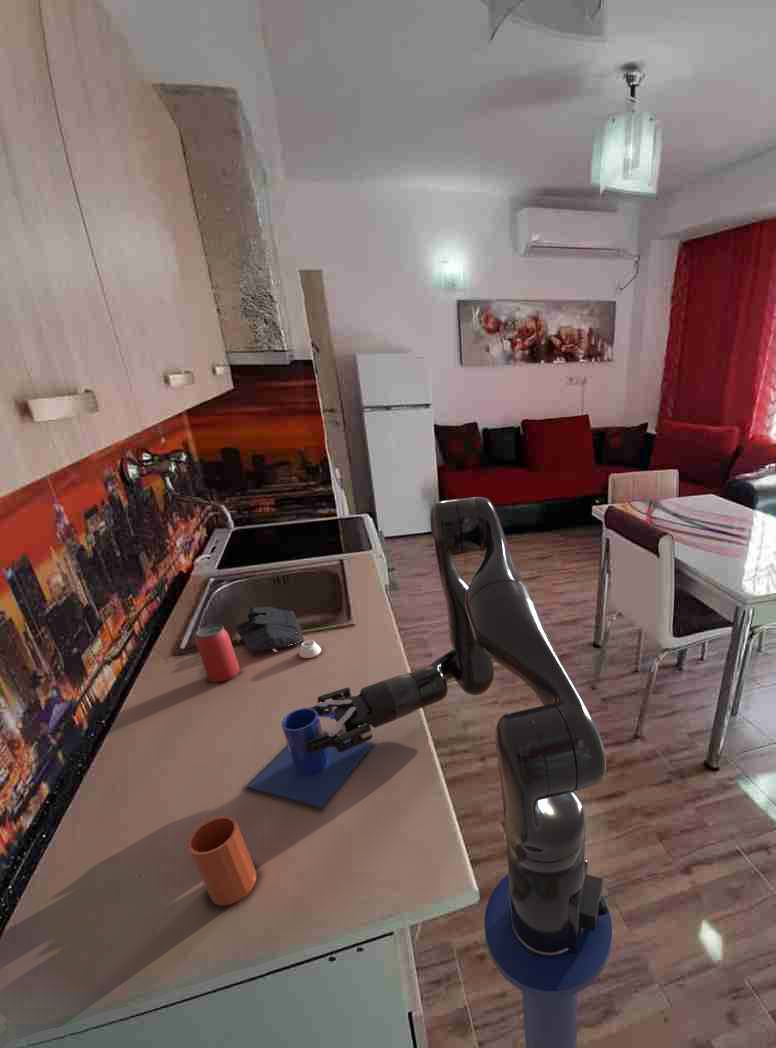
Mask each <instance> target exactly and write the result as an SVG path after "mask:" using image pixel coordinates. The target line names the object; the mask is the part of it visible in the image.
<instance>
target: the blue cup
mask: <svg viewBox="0 0 776 1048" xmlns="http://www.w3.org/2000/svg"><path fill="white" fill-rule="evenodd" d="M281 728H282V732H283V735H284V738H285V741H286V745H287V747H288V748H289V752H290V755H291V758H292V762H293V765H294V768H295V770H296V772H297V773H298V774H299V775H302V776H311V775H314V774H317V773H319V772H321V771H322V770H323V769H325V768H326V766H327V765H328V763H329V755H328V751H327V748H325V749H323V750H320V751H317V752H315V753H310V754H309V753H307V751H306V747H305V742H306V741H307V740H310V739H312V738H315V737H318V736H320V735H323V733H324V731H323V728H322V725H321V720H320V717H319V716H318V712H317V711H316V710H314V709H311V707H302V708H298V709H295V710H293V711H291V712H290V713H288V714H286V715H285V716H284V717H283V720H281Z"/></svg>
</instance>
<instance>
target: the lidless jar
mask: <svg viewBox="0 0 776 1048" xmlns="http://www.w3.org/2000/svg"><path fill="white" fill-rule="evenodd" d="M320 653H322V648H321V647H320V645H318V643H317V642H315V640H313V639H309V640H304V642H302V643H301V646H300V648H299V653H298V655H299V657H300V658H302V659H309V658H313V657H316V656H319V654H320Z"/></svg>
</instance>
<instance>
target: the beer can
mask: <svg viewBox="0 0 776 1048" xmlns="http://www.w3.org/2000/svg"><path fill="white" fill-rule="evenodd" d="M195 636H196V637H195V644H196V645H195V646H196V647H197V650H198V653H199V655H200V658H201V662H202V664H203V667H204V670H205V672H206V675H207V678H208V680H209V681H211V682H213V683H223V682H226V681H229V680H231V679H233V678H235V677H236V676H238V674H239V673H240V668H241V667H240V665H239V661H238V660H237V659H238V658H237V656H236V653H235V650H234V647H233V643H232V641H231V638H230V634H229V633H228V631H227V630H226V629H225V628H224V626H223V624H210V625H206V626H203V627H201V628H200V629H198V630H197V631H196V632H195Z"/></svg>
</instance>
